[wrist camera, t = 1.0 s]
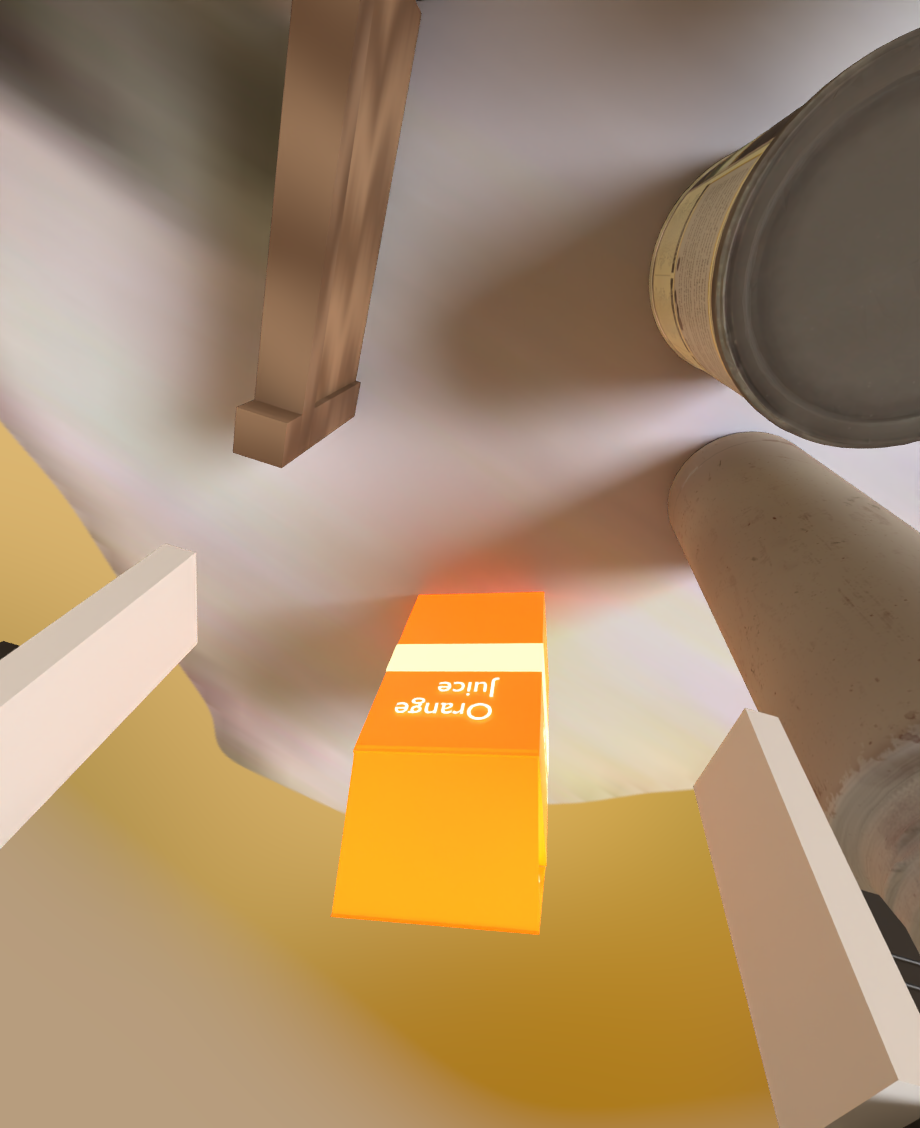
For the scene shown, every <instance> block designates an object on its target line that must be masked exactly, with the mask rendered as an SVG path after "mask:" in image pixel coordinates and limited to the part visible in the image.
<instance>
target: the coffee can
mask: <svg viewBox="0 0 920 1128" xmlns="http://www.w3.org/2000/svg"><path fill="white" fill-rule="evenodd" d="M649 295H650V302H651V308H652V312H653V315H654V318H655V321H656V324H657V327H658V329H659V331H660V332H661V334H662V336H663V338H664V339H665V341H666V342H667V343H668V345H669V346H670V347H671V348H672V349H673V350H674V351H675V352H676V354H677V355H678V356H679V357H680V358H682V359H683V360H685V361H687V362H688V363H690V364H691V365H693V366H694V367H696V368H699V369H701V370H703V371H705V372H706V373H708V374H710V375H711V376H712V377H714V378H715V379H717V380H718V381H720V382H721V383H723V384H724V385H726V386H728V387H729V388H731V389H732V390H734V391H735V392H737V393H738V394H740V395H741V396H742V397H744V398H745V399H746V400H747V401H748V403H749V404H750V405H751V406H752V407H753V408H754V409H755V410H756V411H758V412H759V413H760V414H762V415H763V416H764V417H765V418H767V419H768V420H769V421H770V422H772V423H773V424H775V425H776V426H778V427H779V428H781V429H783V430H785V431H787V432H790V433H792V434H794V435H796V436H799V437H801V438H804V439H806V440H809V441H812V442H816V443H819V444H823V445H829V446H835V447H841V448H882V447H891V446H898V445H905V444H908V443H912V442H916V441H920V28H918V29H916V30H914V31H911V32H909V33H907V34H905V35H902V36H900V37H898V38H896V39H895V40H893V41H891V42H889V43H887V44H885V45H883V46H881V47H880V48H878V49H876V50H874V51H873V52H871V53H870V54H868V55H866V56H865V57H863V58H862V59H860V60H859V61H857V62H856V63H854V64H853V65H852V66H850V67H849V68H847V69H846V70H844V71H843V72H842V73H840V74H839V75H838V76H837V77H835V78H834V79H833V80H831V81H830V82H829V83H828V84H826V85H825V86H824V87H823V88H822V89H821V90H819V91H818V92H817V93H816V94H815V95H814V96H813V97H812V98H811V99H810V100H809V101H808V102H806V103H805V104H804V105H803V106H801V107H800V108H798V109H797V110H795V111H794V112H793V113H791V114H790V115H789V116H787V117H786V118H784V119H783V120H781V121H780V122H778V123H777V124H776V125H774V126H773V127H771V128H770V129H769V130H767V131H766V132H764V133H763V134H761V135H760V136H758V137H757V138H756V139H754V140H753V141H751V142H750V143H748V144H747V145H745V146H744V147H742V148H741V149H739V150H738V151H736V152H734V153H732V154H731V155H729V156H727V157H725V158H724V159H722V160H721V161H719V162H718V163H716V164H715V165H713V166H712V167H710V168H709V169H708V170H707V171H706V172H704V173H703V174H702V175H701V176H700V177H699V178H698V179H697V180H696V181H695V182H694V183H693V184H692V185H691V186H690V187H689V188H688V189H687V190H686V191H685V192H684V193H683V195H682V196H681V197H680V199H679V200H678V201H677V203H676V204H675V205H674V207H673V209H672V210H671V212H670V214H669V215H668V217H667V219H666V221H665V223H664V225H663V227H662V229H661V231H660V234H659V237H658V239H657V242H656V245H655V248H654V252H653V256H652V261H651V266H650V274H649Z"/></svg>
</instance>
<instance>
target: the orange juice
mask: <svg viewBox="0 0 920 1128" xmlns="http://www.w3.org/2000/svg"><path fill="white" fill-rule="evenodd" d="M548 696H549V677H548V658H547V639H546V619H545V600H544V592H517V593H474V594H432V595H418V598H417V600H416V602H415V605H414V607H413V610H412V612H411V614H410V617H409V619H408V621H407V624H406V626H405V629H404V631H403V633H402V636H401V638H400V641H399V643H398V644H397V645H396V648H395V650H394V652H393V655H392V657H391V660H390V662H389V664H388V667H387V669H386V674H385V676H384V679H383V681H382V683H381V686H380V688H379V691H378V693H377V695H376V698H375V700H374V702H373V705H372V707H371V710H370V712H369V714H368V717H367V719H366V722H365V724H364V726H363V729H362V731H361V733H360V736H359V738H358V741H357V743H356V745H355V748H354V750H353V752H354V759H353V767H352V774H351V781H350V788H349V795H348V802H347V809H346V817H345V824H344V831H343V838H342V846H341V852H340V860H339V867H338V874H337V882H336V888H335V896H334V903H333V910H332V915H331V916H332V917H341V918H342V917H343V918H353V919H364V920H376V921H388V922H399V923H411V924H422V925H434V926H445V927H457V928H468V929H480V930H491V931H503V932H514V933H515V932H516V933H526V934H537V935H539V930H540V918H541V906H542V895H543V884H544V874H545V866H546V864H547V803H548V799H547V790H548V786H547V782H548V759H549V738H548Z"/></svg>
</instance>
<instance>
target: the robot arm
mask: <svg viewBox="0 0 920 1128" xmlns="http://www.w3.org/2000/svg"><path fill="white" fill-rule="evenodd" d="M196 644H197V577H196V552H193V551H190V550H186V549H183V548H179V547H176V546H172V545H169V544H164V545H162V546H161V547H160V548H158V549H157V550H155V551H154V552H152V553H151V554H150V555H148V556H147V557H145V558H144V559H143V560H141V561H140V562H138V563H137V564H135V565H134V566H133V567H131V568H130V569H128V570H127V571H126V572H124V573H123V574H121V575H120V576H118V577H117V578H116V579H114V580H113V581H111V582H110V583H109V584H107V585H106V586H104V587H103V588H101V589H100V590H99V591H97V592H96V593H94V594H93V595H92V596H90V597H89V598H87V599H86V600H85V601H83V602H82V603H81V604H79V605H77V606H76V607H75V608H73V609H72V610H71V611H69V612H67V613H66V614H65V615H63V616H62V617H60V618H59V619H58V620H56V621H55V622H54V623H52V624H51V625H49V626H48V627H46V628H45V629H43V630H42V631H41V632H39V633H38V634H36V635H35V636H33V637H32V638H31V639H29V640H28V641H26V642H25V643H24V644H22V645H21V646H18V645H14V644H12V643H8V642H5V641H3V642H0V849H1V848H2V847H3V846H4V844H6V842H7V841H8V840H9V839H10V838H11V837H12V836H13V835H14V834H15V833H16V832H17V831H18V830H19V829H20V828H21V827H22V826H23V825H24V824H25V823H26V822H27V821H28V820H29V819H30V817H31V816H32V815H33V814H34V813H35V812H36V811H37V810H38V809H39V808H40V807H41V806H42V805H43V804H44V803H45V802H46V801H47V800H48V799H49V798H50V797H51V795H53V793H54V792H55V791H56V790H57V789H58V788H59V787H60V786H61V785H62V784H63V783H64V782H65V781H66V780H67V779H68V778H69V777H70V776H71V775H72V774H73V772H75V770H76V769H77V768H78V767H79V766H80V765H81V764H82V763H83V762H84V761H85V760H86V759H87V758H88V757H89V756H90V755H91V754H92V753H93V751H94V750H96V749H97V748H98V746H99V745H100V744H101V743H102V742H103V741H104V740H105V739H106V738H107V737H108V736H109V735H110V734H111V733H112V732H113V730H115V729H116V728H117V727H118V726H119V725H120V723H122V721H123V720H124V719H125V718H126V717H127V716H128V715H129V714H130V713H131V712H132V711H133V710H134V709H135V708H136V707H137V706H138V705H139V704H140V703H141V702H142V701H143V700H144V699H145V698H146V696H147V695H148V694H149V693H150V692H151V691H152V690H153V689H154V688H155V687H156V686H157V685H158V684H159V683H160V682H161V681H162V680H163V679H164V677H166V675H168V673H169V672H170V671H171V670H172V669H173V668H174V667H175V666H176V665H177V664H178V663H179V662H180V661H181V660H182V659H183V658H184V657H185V656H186V655H187V654H188V653H189V652H190V651H191V650H192V649H193V647H194V646H195V645H196ZM693 787H694V791H695V795H696V799H697V803H698V807H699V811H700V815H701V819H702V823H703V827H704V831H705V835H706V839H707V843H708V847H709V850H710V855H711V859H712V863H713V866H714V870H715V875H716V878H717V883H718V886H719V890H720V894H721V898H722V902H723V906H724V910H725V914H726V918H727V922H728V926H729V930H730V934H731V938H732V942H733V946H734V949H735V954H736V958H737V962H738V966H739V970H740V974H741V978H742V981H743V986H744V990H745V994H746V998H747V1001H748V1006H749V1010H750V1014H751V1018H752V1022H753V1026H754V1029H755V1034H756V1037H757V1041H758V1045H759V1049H760V1053H761V1057H762V1061H763V1065H764V1069H765V1073H766V1077H767V1081H768V1085H769V1089H770V1093H771V1097H772V1101H773V1104H774V1109H775V1113H776V1117H777V1121H778V1124H779V1128H920V954H919V952H918V950H917V948H916V946H915V945H914V943H913V941H912V939H911V937H910V935H909V933H908V931H907V929H906V927H905V926H904V925H903V924H902V923H901V921H900V920H899V919H898V918H897V916H896V915H895V914H894V913H893V911H892V910H891V909H890V908H889V906H888V905H887V904H886V903H885V901H884V900H883V899H882V898H881V897H880V895H878V894H874V893H871V892H867V891H864V890H860V888H859V886H858V883H857V881H856V879H855V877H854V875H853V873H852V871H851V869H850V867H849V865H848V863H847V860H846V858H845V856H844V854H843V852H842V850H841V848H840V846H839V844H838V842H837V839H836V837H835V835H834V833H833V831H832V829H831V827H830V825H829V823H828V821H827V819H826V816H825V814H824V812H823V810H822V808H821V806H820V804H819V802H818V800H817V798H816V795H815V793H814V791H813V789H812V787H811V785H810V783H809V781H808V779H807V777H806V774H805V772H804V770H803V768H802V766H801V764H800V762H799V760H798V758H797V756H796V754H795V751H794V749H793V747H792V745H791V743H790V741H789V739H788V737H787V735H786V733H785V730H784V728H783V726H782V724H781V722H780V720H779V718H778V717H775V716H772V715H768V714H765V713H761V712H758V711H754V710H751V709H747V708H745V709H744V710H743V712H742V713H741V715H740V716H739V718H738V719H737V721H736V723H735V724H734V726H733V727H732V729H731V730H730V732H729V733H728V735H727V736H726V738H725V739H724V741H723V742H722V744H721V745H720V747H719V748H718V750H717V751H716V753H715V754H714V756H713V757H712V759H711V760H710V762H709V763H708V765H707V766H706V768H705V770H704V771H703V773H702V774H701V776H700V777H699V779H698V780H697V782H696V783H695V785H694V786H693Z"/></svg>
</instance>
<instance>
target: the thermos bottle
mask: <svg viewBox="0 0 920 1128" xmlns="http://www.w3.org/2000/svg"><path fill="white" fill-rule="evenodd" d="M668 516H669V520H670V524H671V526H672V528H673V531H674V533H675V535H676V537H677V539H678V541H679V543H680V546H681V548H682V550H683V552H684V554H685V556H686V558H687V560H688V563H689V565H690V567H691V569H692V571H693V573H694V575H695V577H696V580H697V582H698V584H699V586H700V588H701V590H702V592H703V594H704V597H705V599H706V601H707V603H708V605H709V607H710V609H711V612H712V614H713V616H714V618H715V620H716V622H717V624H718V627H719V629H720V631H721V633H722V635H723V637H724V639H725V641H726V644H727V646H728V648H729V650H730V652H731V654H732V656H733V658H734V661H735V663H736V665H737V667H738V669H739V671H740V673H741V676H742V678H743V680H744V682H745V684H746V686H747V688H748V690H749V693H750V695H751V697H752V699H753V701H754V703H755V705H756V708H757V710H758V712H761V713H765V714H768V715H772V716H775V717H778V718H779V720H780V722H781V724H782V726H783V728H784V730H785V733H786V735H787V737H788V739H789V741H790V743H791V745H792V747H793V749H794V751H795V754H796V756H797V758H798V760H799V762H800V764H801V766H802V768H803V770H804V772H805V774H806V777H807V779H808V781H809V783H810V785H811V787H812V789H813V791H814V793H815V795H816V798H817V800H818V802H819V804H820V806H821V808H822V810H823V812H824V814H825V816H826V819H827V821H828V823H829V825H830V827H831V829H832V831H833V833H834V835H835V837H836V839H837V842H838V844H839V846H840V848H841V850H842V852H843V854H844V856H845V858H846V860H847V863H848V865H849V867H850V869H851V871H852V873H853V875H854V877H855V879H856V881H857V883H858V886H859V888H860V890H864V891H867V892H871V893H874V894H878V895H880V897H881V898H882V899H883V900H884V901H885V903H886V904H887V905H888V906H889V908H890V909H891V910H892V911H893V913H894V914H895V915H896V916H897V918H898V919H899V920H900V921H901V923H902V924H903V925H904V926H905V927H906V929H907V931H908V933H909V935H910V937H911V939H912V941H913V943H914V945H915V946H916V948H917V950H918V952H919V954H920V532H918V531H917V530H915V529H914V528H912V527H911V526H910V525H908V524H907V523H905V522H904V521H903V520H901V519H900V518H898V517H897V516H895V515H894V514H893V513H891V512H890V511H888V510H887V509H885V508H884V507H883V506H881V505H880V504H878V503H877V502H876V501H874V500H873V499H871V498H870V497H868V496H867V495H866V494H864V493H863V492H861V491H860V490H859V489H857V488H856V487H854V486H853V485H851V484H850V483H849V482H847V481H846V480H844V479H843V478H841V477H840V476H839V475H837V474H836V473H834V472H833V471H832V470H830V469H829V468H827V467H826V466H824V465H823V464H822V463H820V462H819V461H817V460H816V459H815V458H813V457H812V456H810V455H809V454H807V453H806V452H805V451H803V450H802V449H800V448H799V447H797V446H796V445H795V444H793V443H791V442H789V441H788V440H786V439H784V438H782V437H780V436H776V435H773V434H769V433H764V432H743V433H735V434H732V435H728V436H725V437H721V438H719V439H717V440H715V441H713V442H711V443H709V444H707V445H706V446H704V447H703V448H701V449H700V450H698V451H697V452H695V453H694V454H693V455H692V456H691V457H690V458H689V459H688V460H687V461H686V462H685V463H684V465H683V466H682V467H681V469H680V470H679V472H678V473H677V474H676V477H675V479H674V481H673V483H672V485H671V488H670V492H669V496H668Z"/></svg>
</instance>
